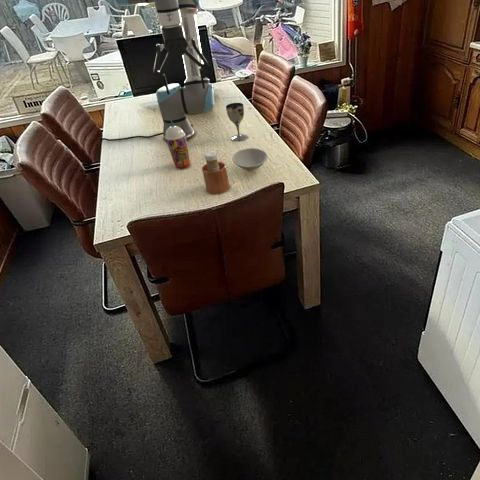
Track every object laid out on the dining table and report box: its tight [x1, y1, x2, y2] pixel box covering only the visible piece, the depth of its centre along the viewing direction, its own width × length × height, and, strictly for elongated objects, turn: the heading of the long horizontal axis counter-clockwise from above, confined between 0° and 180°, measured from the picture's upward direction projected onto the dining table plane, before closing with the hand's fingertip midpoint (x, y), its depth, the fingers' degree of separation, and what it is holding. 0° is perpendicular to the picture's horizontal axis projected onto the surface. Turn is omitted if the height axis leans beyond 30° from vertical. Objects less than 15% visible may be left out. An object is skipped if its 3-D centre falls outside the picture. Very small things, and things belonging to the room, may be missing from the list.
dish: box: [231, 147, 268, 171], centre depth 158 cm, size 18×14×5 cm
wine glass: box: [225, 102, 247, 142], centre depth 180 cm, size 8×8×15 cm
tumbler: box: [201, 161, 230, 195], centre depth 146 cm, size 9×9×9 cm
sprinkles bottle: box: [203, 150, 220, 172], centre depth 144 cm, size 5×5×14 cm
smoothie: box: [165, 119, 191, 170], centre depth 160 cm, size 8×8×20 cm
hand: (186, 90), depth 148 cm, fingers open, 13 cm apart
